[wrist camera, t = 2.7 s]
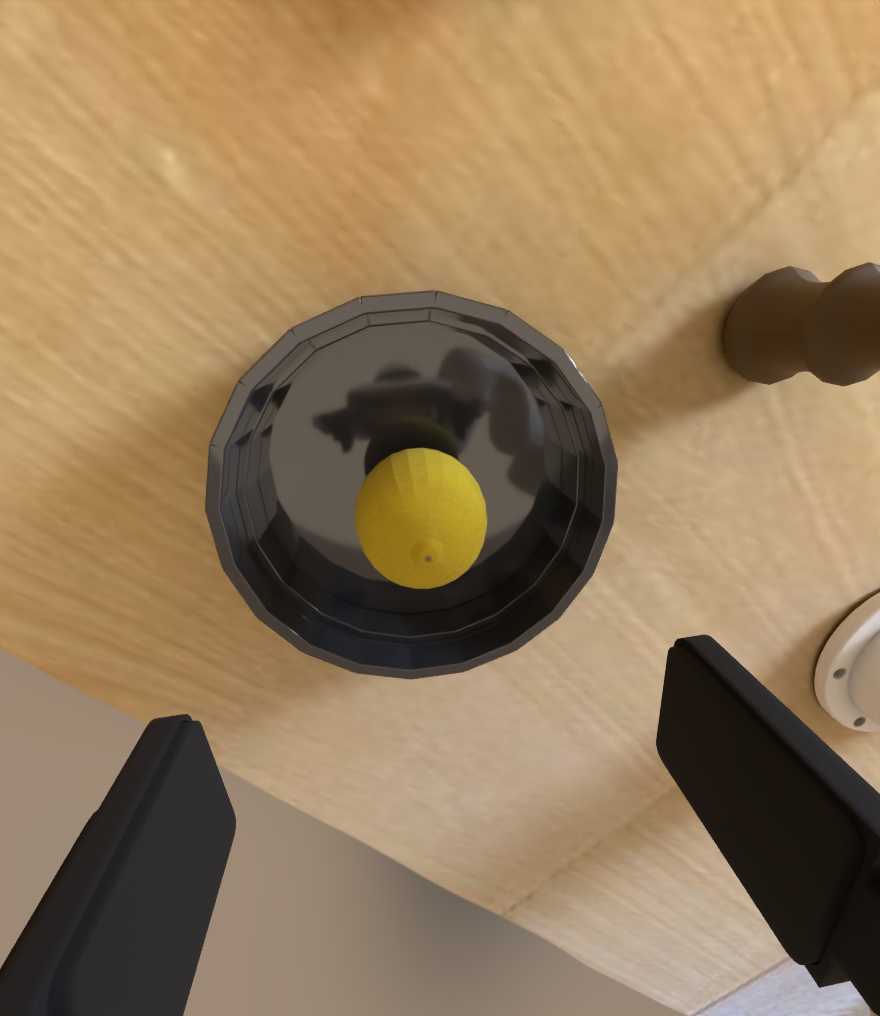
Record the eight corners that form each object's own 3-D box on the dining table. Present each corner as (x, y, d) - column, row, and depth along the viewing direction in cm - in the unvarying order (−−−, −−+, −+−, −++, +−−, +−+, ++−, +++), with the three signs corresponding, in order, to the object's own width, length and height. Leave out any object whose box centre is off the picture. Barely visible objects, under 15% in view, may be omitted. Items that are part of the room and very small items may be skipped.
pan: (582, 285, 21) (631, 274, 17) (572, 603, 27) (606, 652, 23) (197, 317, 20) (146, 313, 16) (280, 642, 26) (260, 701, 22)
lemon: (342, 508, 23) (320, 591, 16) (391, 411, 22) (393, 453, 14) (437, 551, 25) (458, 646, 17) (489, 462, 23) (537, 525, 16)
